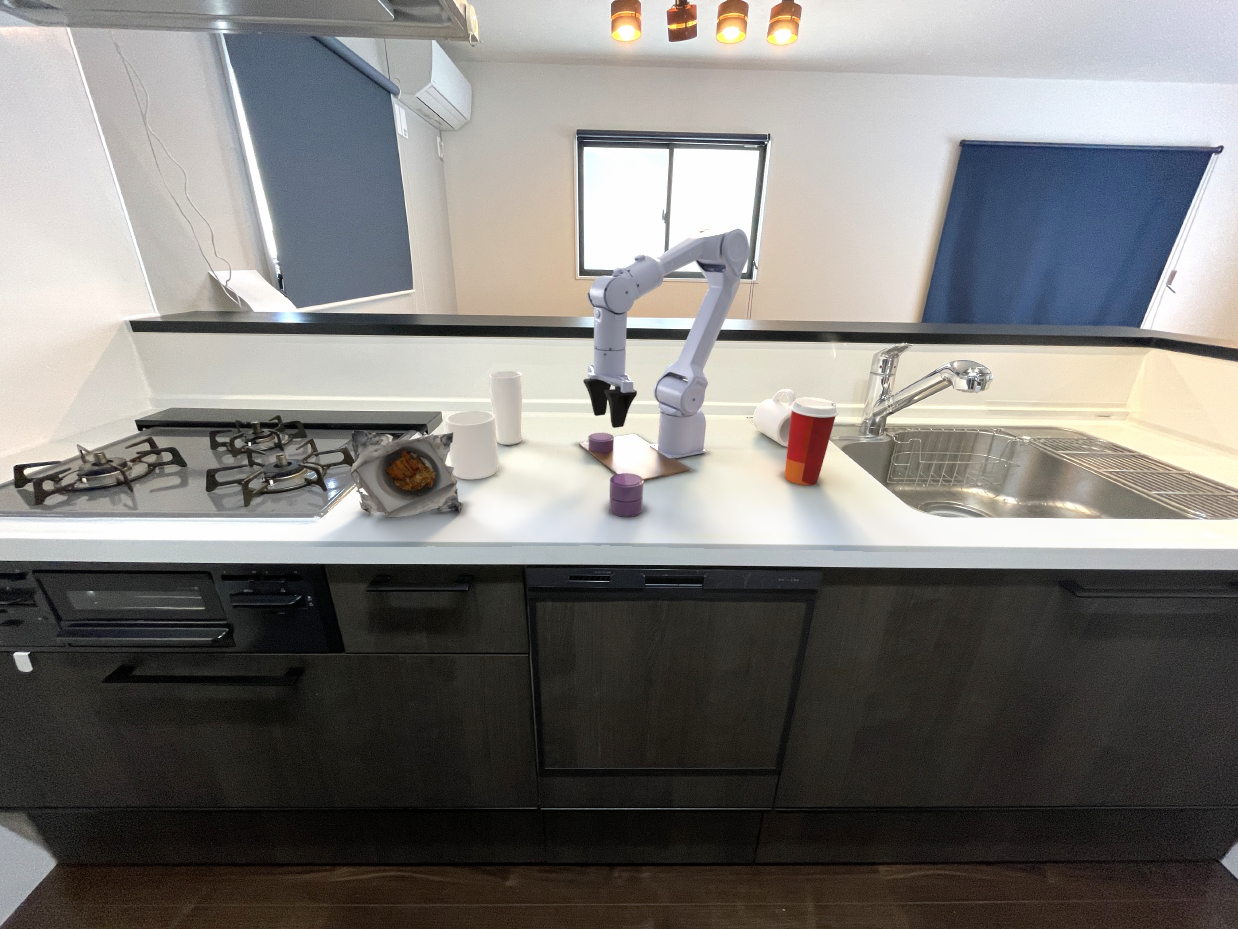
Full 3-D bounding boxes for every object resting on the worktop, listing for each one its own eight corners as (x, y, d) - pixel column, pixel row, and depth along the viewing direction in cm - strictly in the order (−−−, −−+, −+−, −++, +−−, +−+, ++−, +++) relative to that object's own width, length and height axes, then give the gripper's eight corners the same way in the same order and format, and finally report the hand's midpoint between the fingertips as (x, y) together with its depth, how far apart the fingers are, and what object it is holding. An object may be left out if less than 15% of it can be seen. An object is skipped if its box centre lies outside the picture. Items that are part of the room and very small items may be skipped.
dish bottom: (631, 498, 84) (632, 484, 83) (648, 512, 80) (649, 497, 79) (603, 505, 82) (603, 490, 81) (619, 519, 78) (619, 504, 77)
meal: (463, 502, 82) (455, 427, 76) (459, 515, 78) (450, 437, 73) (368, 506, 80) (352, 429, 74) (358, 519, 76) (342, 439, 71)
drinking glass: (518, 448, 104) (514, 378, 98) (488, 445, 105) (482, 376, 100) (529, 437, 110) (526, 371, 104) (501, 434, 112) (496, 369, 106)
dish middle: (632, 484, 83) (632, 470, 82) (649, 497, 79) (649, 482, 78) (603, 490, 81) (604, 475, 80) (619, 504, 77) (619, 489, 76)
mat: (634, 435, 114) (634, 433, 113) (690, 470, 96) (690, 468, 96) (578, 444, 107) (578, 442, 107) (628, 484, 90) (628, 482, 90)
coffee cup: (823, 473, 96) (838, 399, 90) (824, 491, 89) (841, 411, 83) (778, 467, 99) (790, 394, 93) (776, 483, 92) (789, 405, 86)
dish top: (606, 442, 108) (606, 430, 107) (618, 450, 103) (618, 438, 102) (584, 446, 105) (584, 434, 104) (595, 454, 101) (595, 442, 100)
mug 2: (780, 430, 119) (788, 382, 115) (806, 445, 110) (816, 393, 105) (750, 433, 117) (757, 383, 112) (774, 448, 108) (782, 395, 103)
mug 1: (497, 454, 101) (493, 404, 97) (499, 478, 90) (495, 423, 86) (454, 457, 99) (448, 406, 95) (450, 482, 88) (443, 426, 84)
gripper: (573, 342, 92) (573, 412, 97) (608, 357, 80) (606, 435, 86) (607, 340, 95) (605, 408, 100) (645, 354, 83) (641, 430, 89)
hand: (608, 420), depth 93 cm, fingers open, 7 cm apart
